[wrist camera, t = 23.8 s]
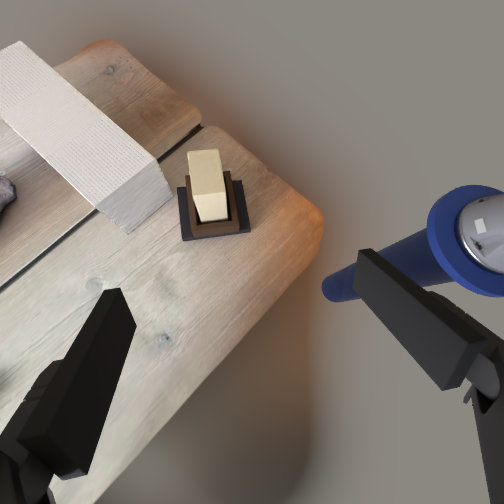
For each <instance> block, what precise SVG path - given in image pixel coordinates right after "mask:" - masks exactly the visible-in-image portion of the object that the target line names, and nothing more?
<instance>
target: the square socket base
mask: <svg viewBox="0 0 504 504" xmlns="http://www.w3.org/2000/svg"><path fill="white" fill-rule="evenodd" d="M223 177H224V184H225V190H226V201H227V215H228V221H225V222H218V223H211V224H203V225H202V222H201V219H200V216H199V213H198V210H197V207H196V204H195V202H194V199H193V195H192V187H191V178H190V175H188V176H185V179H186V187H177V194H178V204H179V213H180V223H181V233H182V239H183V241H189V240H196V239H203V238H210V237H217V236H224V235H232V234H239V233H246V232H250V229H251V228H250V223H249V217H248V212H247V207H246V201H245V196H244V190H243V185H242V180H238V181H232V179H231V173H230V171H225V172H223Z"/></svg>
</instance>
